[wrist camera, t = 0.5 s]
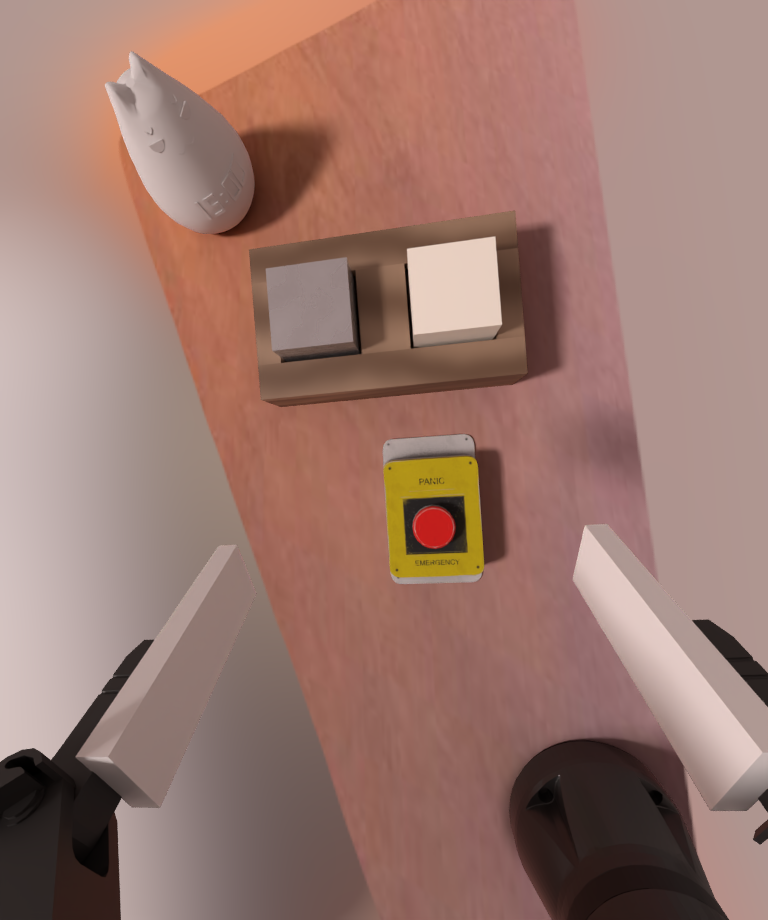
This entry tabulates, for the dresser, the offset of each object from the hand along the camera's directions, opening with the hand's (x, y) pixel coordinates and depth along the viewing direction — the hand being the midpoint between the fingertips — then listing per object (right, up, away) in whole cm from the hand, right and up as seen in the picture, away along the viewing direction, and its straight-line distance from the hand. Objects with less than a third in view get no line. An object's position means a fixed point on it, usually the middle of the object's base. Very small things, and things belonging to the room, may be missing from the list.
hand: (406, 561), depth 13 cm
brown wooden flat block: (-1, +17, +21) cm, 28 cm away
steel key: (-7, +17, +18) cm, 26 cm away
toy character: (-19, +32, +23) cm, 44 cm away
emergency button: (+4, -1, +22) cm, 22 cm away
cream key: (+5, +18, +17) cm, 25 cm away
